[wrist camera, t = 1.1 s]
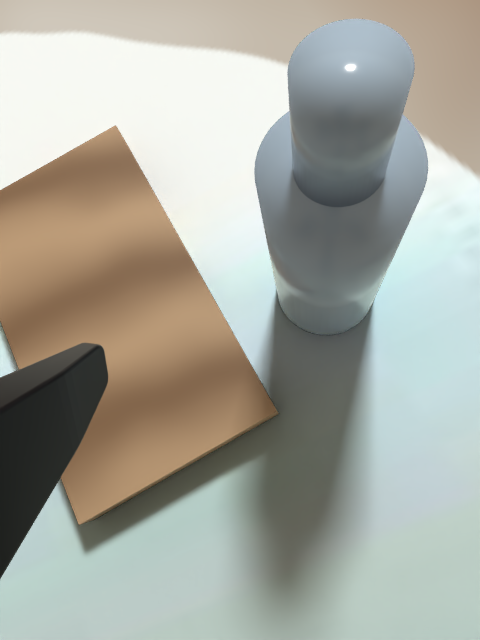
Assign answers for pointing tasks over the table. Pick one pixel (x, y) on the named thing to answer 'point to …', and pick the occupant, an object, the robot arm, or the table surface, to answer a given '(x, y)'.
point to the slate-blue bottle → (340, 173)
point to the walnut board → (121, 321)
